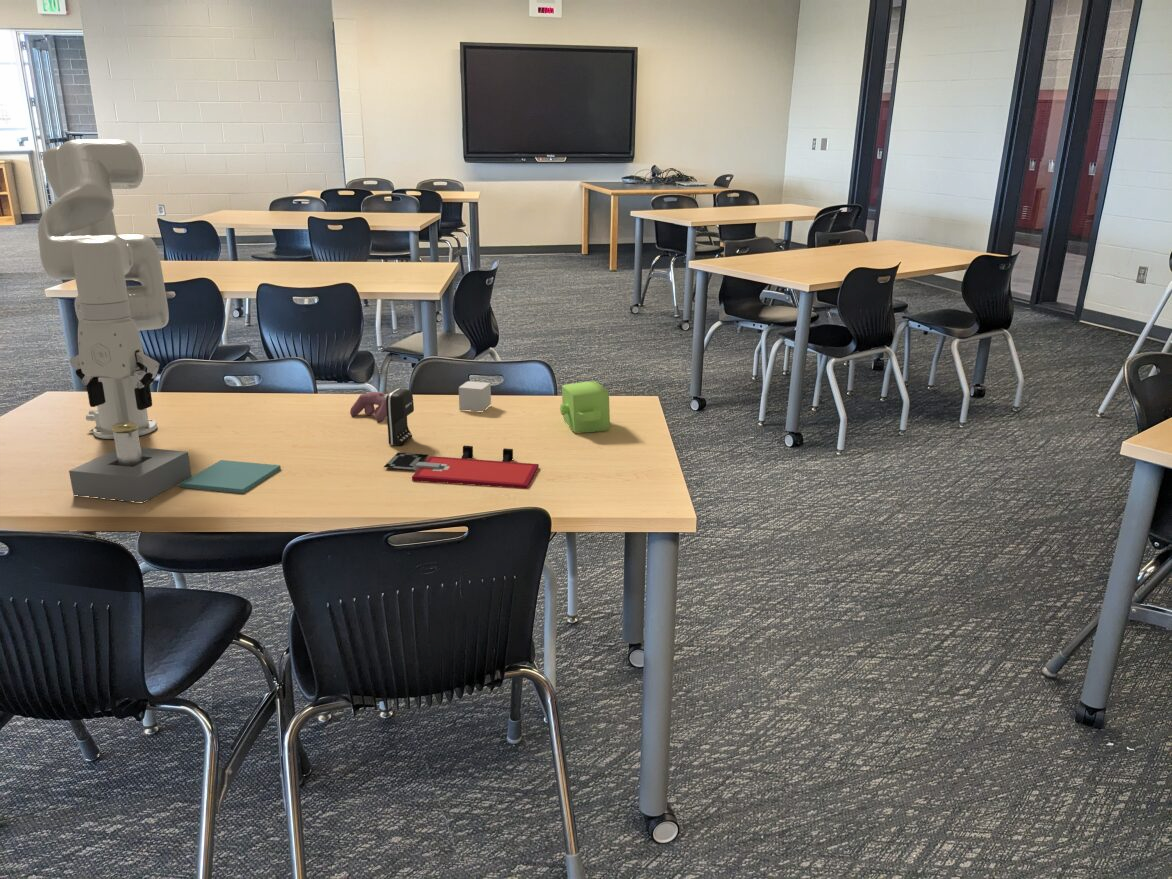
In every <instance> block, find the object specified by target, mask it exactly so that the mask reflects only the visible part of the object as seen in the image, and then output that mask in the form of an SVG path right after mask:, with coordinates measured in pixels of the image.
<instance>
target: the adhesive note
mask: <svg viewBox="0 0 1172 879" xmlns="http://www.w3.org/2000/svg"><path fill="white" fill-rule="evenodd" d="M491 388H492V387H491V382H482V381H471V380H470V381H469V380H468V381H465V382H464V383H463V384H461V385H459V387H458V402H459V403H458V405H459V408H458V409H459V410H471V411H484V410H485V409H486V408H487V407H488V406H489V405H490V404H491V405H492V392H491V391H492V390H491ZM484 412H485V411H484Z"/></svg>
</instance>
